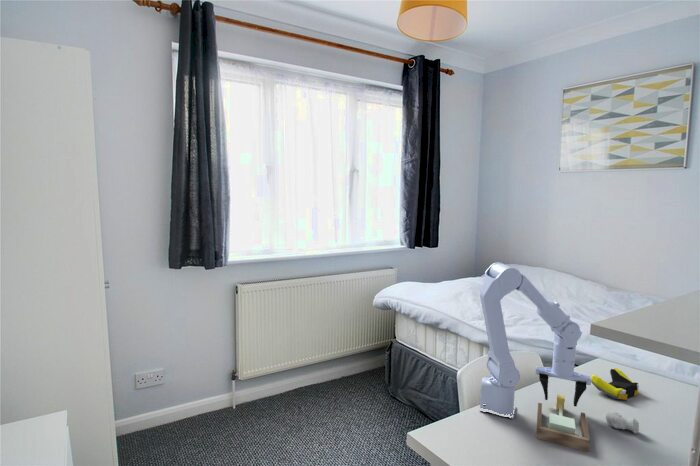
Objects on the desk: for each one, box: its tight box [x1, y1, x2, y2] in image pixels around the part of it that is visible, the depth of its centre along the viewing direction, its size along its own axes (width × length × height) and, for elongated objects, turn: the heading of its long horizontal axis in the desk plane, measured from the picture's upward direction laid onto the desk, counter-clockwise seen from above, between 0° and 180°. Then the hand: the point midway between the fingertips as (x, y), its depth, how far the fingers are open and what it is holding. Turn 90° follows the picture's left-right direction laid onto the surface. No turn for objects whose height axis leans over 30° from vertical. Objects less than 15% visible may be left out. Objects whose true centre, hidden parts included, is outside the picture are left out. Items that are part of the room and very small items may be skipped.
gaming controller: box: [590, 367, 641, 401], centre depth 130 cm, size 15×6×10 cm
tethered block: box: [548, 394, 576, 435], centre depth 112 cm, size 6×18×4 cm, turn 153°
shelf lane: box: [535, 402, 590, 452], centre depth 109 cm, size 12×14×3 cm
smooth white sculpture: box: [605, 410, 640, 435], centre depth 110 cm, size 4×8×5 cm
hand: (560, 401), depth 119 cm, fingers open, 7 cm apart
